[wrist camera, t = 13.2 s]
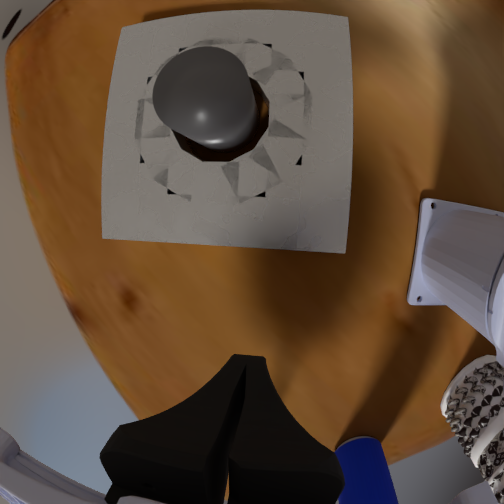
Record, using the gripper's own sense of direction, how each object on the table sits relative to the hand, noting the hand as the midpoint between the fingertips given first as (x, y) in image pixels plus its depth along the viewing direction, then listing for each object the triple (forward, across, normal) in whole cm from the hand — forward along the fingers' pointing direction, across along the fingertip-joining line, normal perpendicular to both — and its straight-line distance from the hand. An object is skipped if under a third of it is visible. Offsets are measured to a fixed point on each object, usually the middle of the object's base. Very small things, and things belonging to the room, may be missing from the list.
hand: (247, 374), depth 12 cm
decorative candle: (+10, -23, +10) cm, 27 cm away
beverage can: (+10, -11, +17) cm, 22 cm away
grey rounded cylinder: (+9, +3, -12) cm, 16 cm away
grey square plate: (+9, +3, -12) cm, 16 cm away
